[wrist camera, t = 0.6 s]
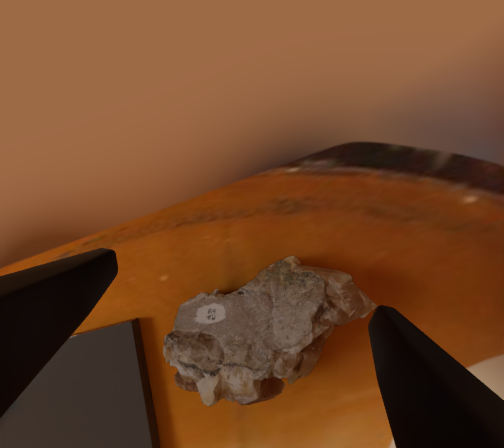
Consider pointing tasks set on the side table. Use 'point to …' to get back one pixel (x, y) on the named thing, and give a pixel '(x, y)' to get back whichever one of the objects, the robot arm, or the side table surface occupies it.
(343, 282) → the mineral specimen
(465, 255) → the side table surface
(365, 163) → the side table surface
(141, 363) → the slate board
